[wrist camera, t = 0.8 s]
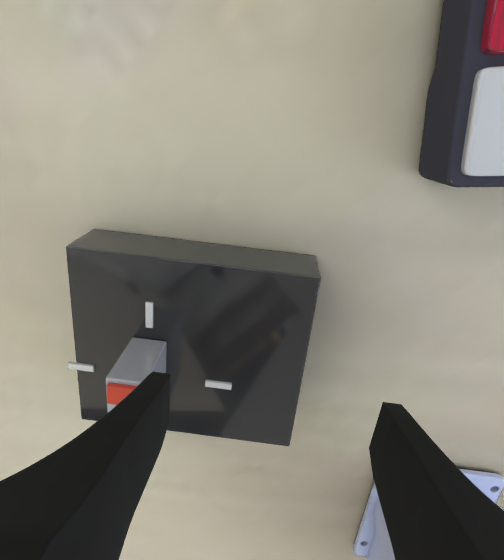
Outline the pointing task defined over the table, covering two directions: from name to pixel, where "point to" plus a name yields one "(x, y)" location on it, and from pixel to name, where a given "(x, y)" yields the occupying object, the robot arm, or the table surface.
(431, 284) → the table surface
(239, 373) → the panel
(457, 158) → the red and grey box
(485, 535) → the robot arm
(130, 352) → the knob
